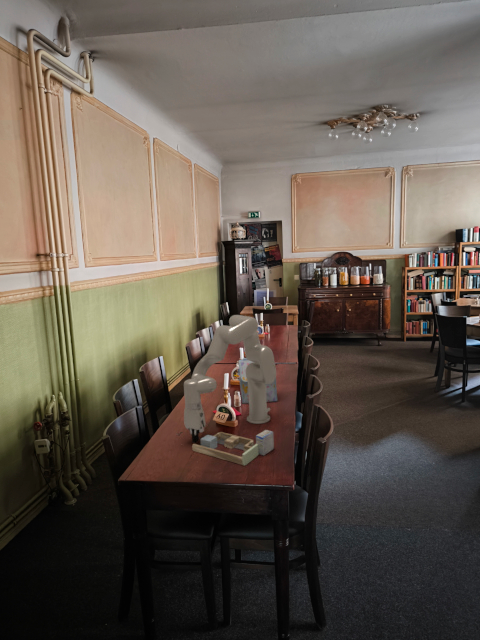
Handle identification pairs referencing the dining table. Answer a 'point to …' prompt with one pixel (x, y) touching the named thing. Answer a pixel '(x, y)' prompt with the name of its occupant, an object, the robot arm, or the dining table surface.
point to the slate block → (209, 441)
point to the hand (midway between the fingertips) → (195, 441)
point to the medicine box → (265, 442)
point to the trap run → (229, 443)
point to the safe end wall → (250, 454)
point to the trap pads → (239, 446)
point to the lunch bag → (270, 388)
